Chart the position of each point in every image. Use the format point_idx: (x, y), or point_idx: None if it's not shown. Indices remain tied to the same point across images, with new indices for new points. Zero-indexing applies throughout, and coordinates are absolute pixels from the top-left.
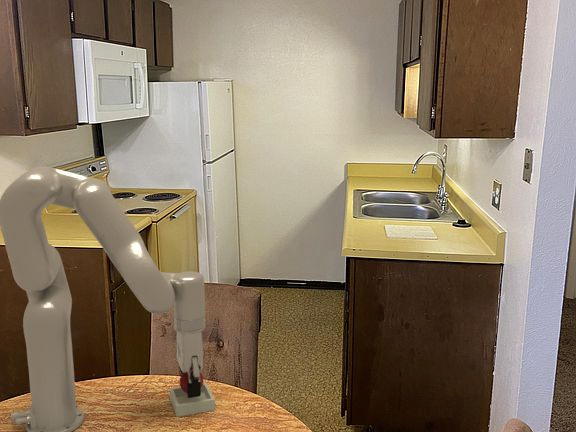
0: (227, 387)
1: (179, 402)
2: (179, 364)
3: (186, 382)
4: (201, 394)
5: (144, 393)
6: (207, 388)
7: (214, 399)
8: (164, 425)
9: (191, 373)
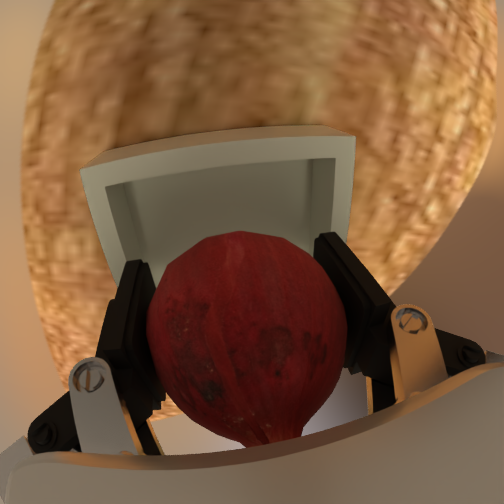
0: None
1: (239, 172)
2: (292, 479)
3: (158, 329)
4: None
5: (409, 29)
6: None
7: None
8: (40, 98)
9: (203, 420)
